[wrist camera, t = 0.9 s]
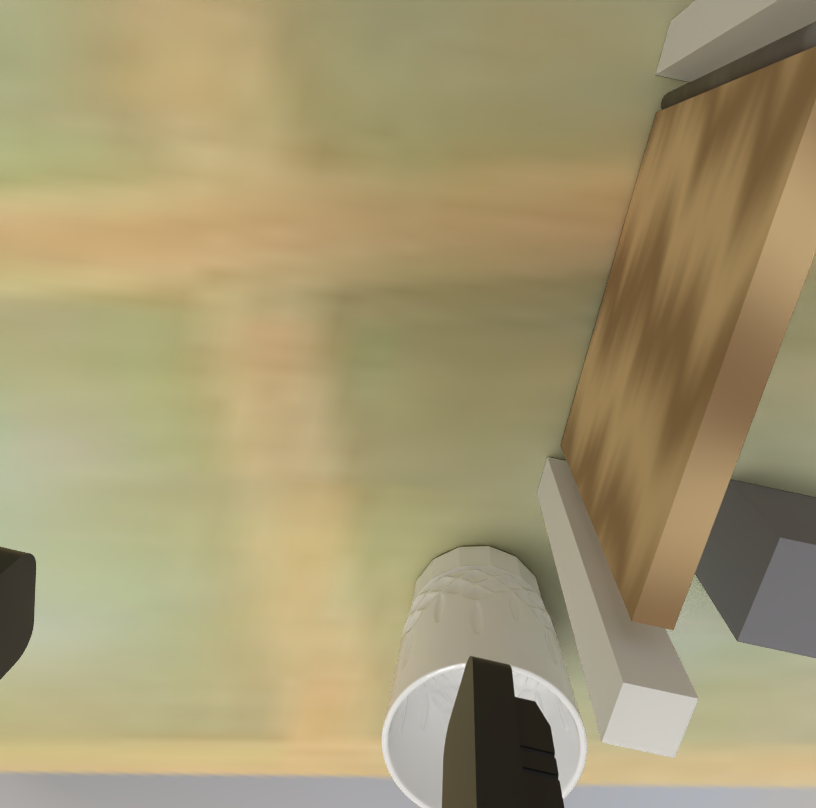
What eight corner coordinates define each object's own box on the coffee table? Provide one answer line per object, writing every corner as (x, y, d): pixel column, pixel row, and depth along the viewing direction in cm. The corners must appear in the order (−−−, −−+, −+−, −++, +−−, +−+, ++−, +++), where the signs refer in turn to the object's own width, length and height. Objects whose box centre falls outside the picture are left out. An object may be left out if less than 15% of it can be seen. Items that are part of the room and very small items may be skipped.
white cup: (584, 608, 35) (630, 761, 26) (470, 688, 37) (473, 858, 28) (484, 504, 34) (493, 625, 24) (371, 593, 36) (339, 736, 26)
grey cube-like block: (724, 477, 33) (780, 537, 27) (825, 499, 33) (903, 563, 27) (690, 566, 34) (737, 641, 29) (788, 587, 34) (854, 666, 28)
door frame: (670, 20, 27) (941, -202, 12) (719, 31, 27) (1054, -179, 12) (537, 493, 34) (601, 742, 18) (576, 501, 34) (674, 757, 18)
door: (661, 88, 28) (874, -23, 14) (721, 101, 28) (997, 2, 14) (559, 443, 33) (637, 636, 18) (610, 454, 33) (728, 656, 18)
